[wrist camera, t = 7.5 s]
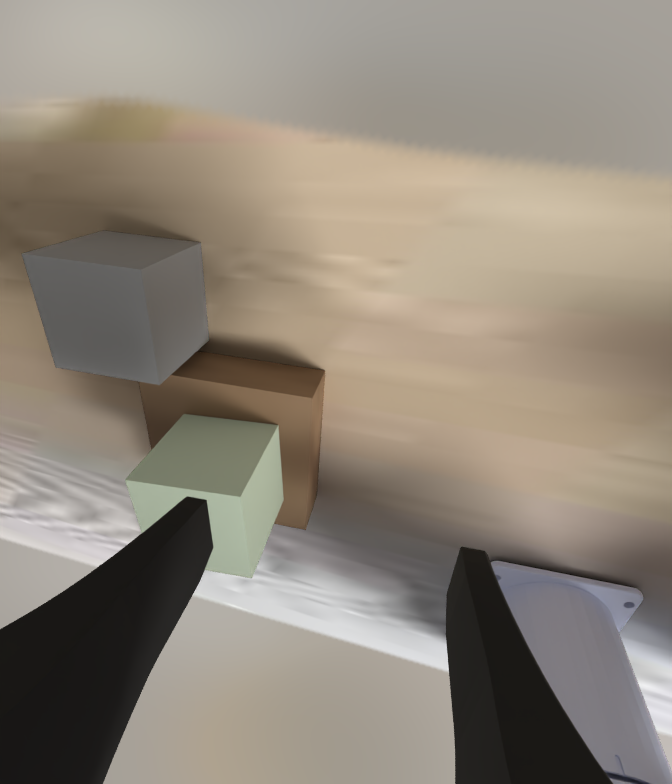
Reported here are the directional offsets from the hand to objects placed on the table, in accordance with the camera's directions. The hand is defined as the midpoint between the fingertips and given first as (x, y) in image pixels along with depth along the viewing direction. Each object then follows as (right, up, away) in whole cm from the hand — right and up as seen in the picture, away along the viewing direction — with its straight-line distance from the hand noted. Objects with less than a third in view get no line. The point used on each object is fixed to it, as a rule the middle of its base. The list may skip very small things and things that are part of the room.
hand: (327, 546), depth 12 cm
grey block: (-8, +9, +8) cm, 14 cm away
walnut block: (-4, +3, +11) cm, 12 cm away
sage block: (-4, +1, +8) cm, 10 cm away
